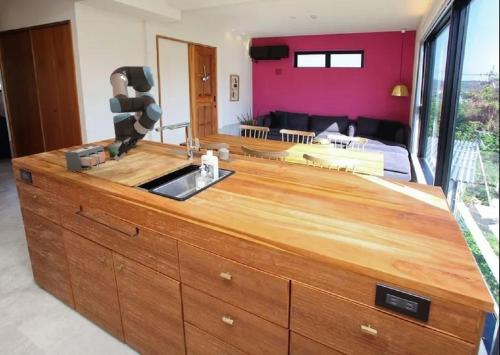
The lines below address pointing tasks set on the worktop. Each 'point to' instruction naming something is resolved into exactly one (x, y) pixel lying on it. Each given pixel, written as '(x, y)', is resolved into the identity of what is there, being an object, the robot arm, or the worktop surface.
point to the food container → (114, 149)
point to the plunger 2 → (101, 154)
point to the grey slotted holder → (76, 154)
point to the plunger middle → (97, 158)
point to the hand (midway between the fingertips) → (116, 159)
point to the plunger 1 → (87, 161)
